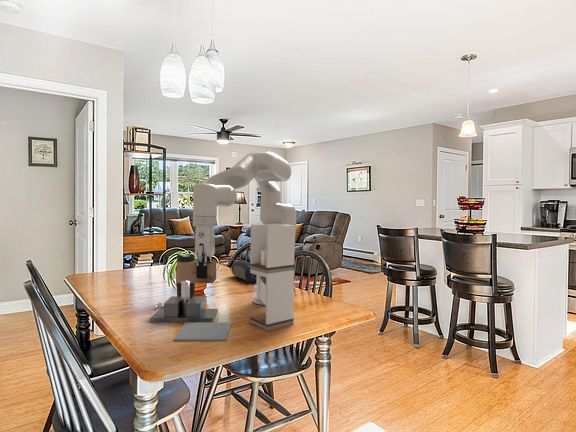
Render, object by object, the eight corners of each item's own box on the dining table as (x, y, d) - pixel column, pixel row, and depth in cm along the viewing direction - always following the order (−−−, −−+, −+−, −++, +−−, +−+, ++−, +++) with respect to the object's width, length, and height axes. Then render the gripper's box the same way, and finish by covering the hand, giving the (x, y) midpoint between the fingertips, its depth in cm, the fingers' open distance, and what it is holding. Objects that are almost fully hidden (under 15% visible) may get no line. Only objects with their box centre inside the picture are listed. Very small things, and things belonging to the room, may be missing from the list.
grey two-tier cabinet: (275, 316, 141) (276, 223, 140) (293, 324, 133) (294, 225, 132) (249, 322, 134) (250, 224, 133) (267, 330, 126) (268, 226, 124)
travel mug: (190, 304, 156) (190, 256, 156) (173, 303, 158) (173, 256, 157) (198, 299, 164) (198, 254, 163) (181, 298, 166) (181, 253, 165)
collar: (216, 279, 126) (216, 261, 126) (212, 283, 119) (213, 264, 119) (195, 278, 126) (195, 261, 126) (190, 283, 119) (190, 264, 119)
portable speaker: (229, 276, 216) (229, 259, 216) (244, 275, 221) (245, 258, 221) (248, 285, 195) (248, 266, 194) (265, 283, 200) (265, 264, 200)
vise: (217, 312, 146) (217, 277, 145) (212, 322, 134) (212, 284, 133) (160, 312, 145) (160, 277, 144) (150, 322, 133) (150, 284, 132)
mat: (231, 324, 132) (231, 322, 132) (225, 340, 116) (225, 338, 116) (185, 324, 131) (185, 322, 131) (173, 341, 115) (173, 339, 115)
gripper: (211, 223, 114) (211, 281, 114) (220, 221, 131) (219, 271, 131) (186, 222, 113) (186, 281, 114) (198, 220, 131) (197, 271, 131)
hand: (203, 275), depth 123 cm, fingers closed on collar, 7 cm apart
